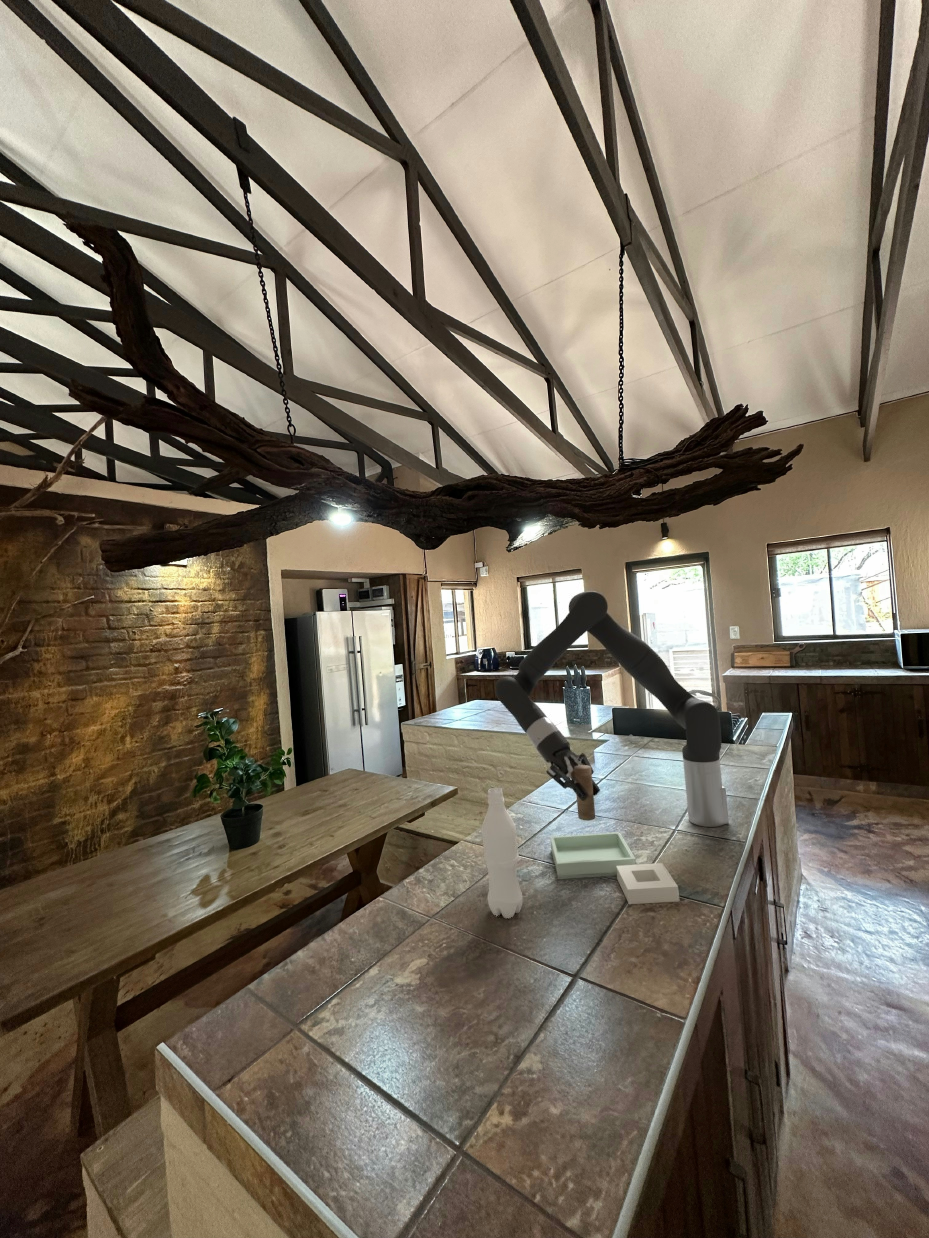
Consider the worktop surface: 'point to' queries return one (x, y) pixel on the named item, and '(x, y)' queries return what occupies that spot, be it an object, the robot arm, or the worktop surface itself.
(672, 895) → the dowel block
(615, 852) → the tray
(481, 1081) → the worktop surface
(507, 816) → the water bottle
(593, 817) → the dowel
